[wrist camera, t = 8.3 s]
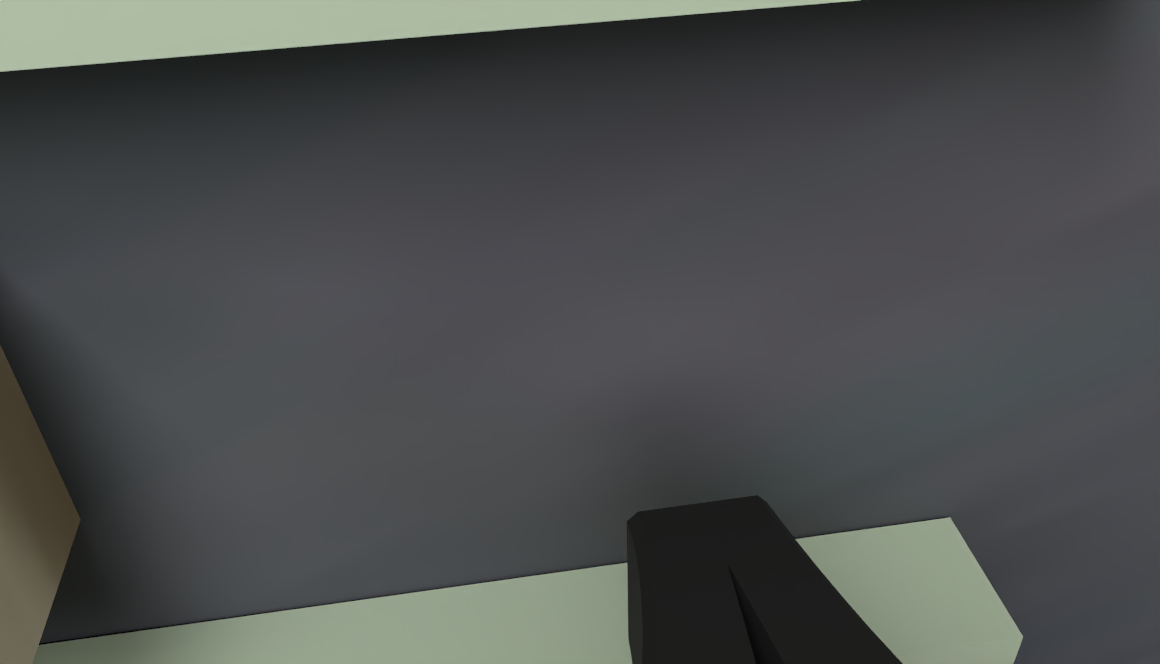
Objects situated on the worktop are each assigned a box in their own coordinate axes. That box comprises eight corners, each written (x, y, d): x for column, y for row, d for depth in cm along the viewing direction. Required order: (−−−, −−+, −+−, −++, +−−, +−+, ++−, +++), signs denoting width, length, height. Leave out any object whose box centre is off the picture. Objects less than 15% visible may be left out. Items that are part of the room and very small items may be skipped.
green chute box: (1146, -217, 11) (1320, -175, 9) (937, 564, 18) (1005, 683, 16) (-1160, -76, 9) (-1635, 23, 7) (-331, 747, 16) (-435, 914, 14)
